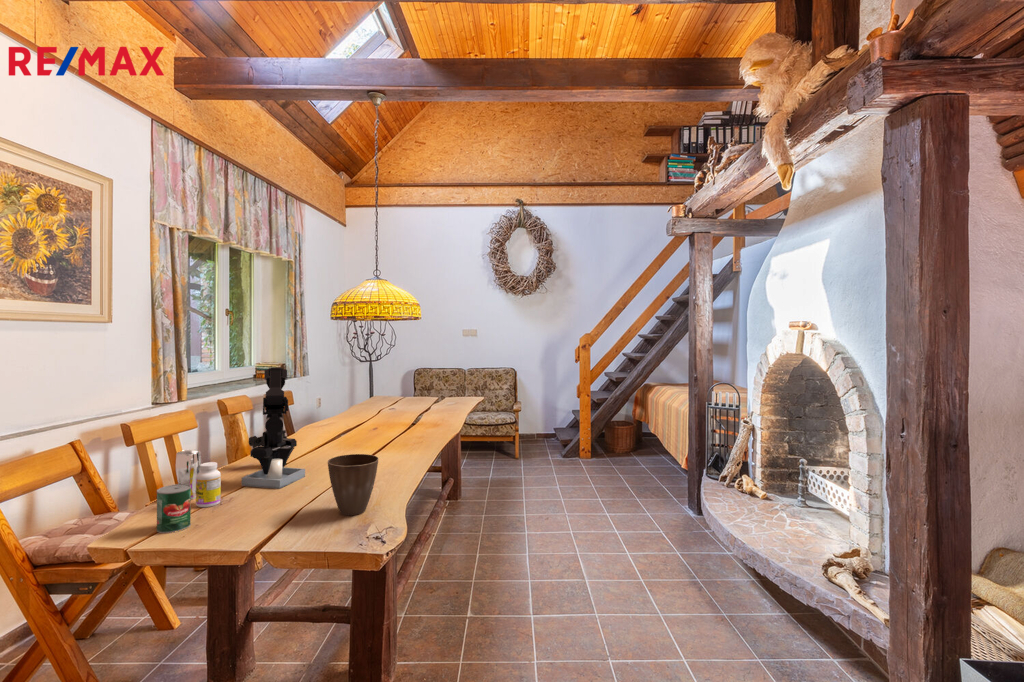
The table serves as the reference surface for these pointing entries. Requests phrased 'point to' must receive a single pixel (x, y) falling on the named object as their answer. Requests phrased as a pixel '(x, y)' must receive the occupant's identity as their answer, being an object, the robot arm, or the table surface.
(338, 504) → the plant pot
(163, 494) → the canned tomato
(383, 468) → the table surface
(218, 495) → the supplement bottle
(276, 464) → the cream rounded block
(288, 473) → the tray
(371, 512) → the table surface
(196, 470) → the light grey tall piece
